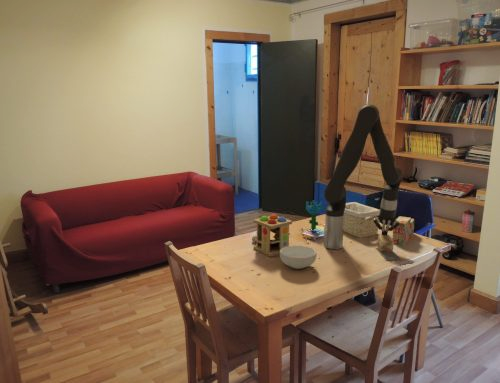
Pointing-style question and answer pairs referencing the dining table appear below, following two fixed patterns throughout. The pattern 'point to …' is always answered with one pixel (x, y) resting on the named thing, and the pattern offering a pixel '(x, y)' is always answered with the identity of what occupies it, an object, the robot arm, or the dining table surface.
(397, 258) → the mat
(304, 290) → the dining table surface
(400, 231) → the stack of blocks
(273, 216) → the pounding bench toy
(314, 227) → the toy flower
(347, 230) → the storage basket
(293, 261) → the cereal bowl
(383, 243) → the cube
